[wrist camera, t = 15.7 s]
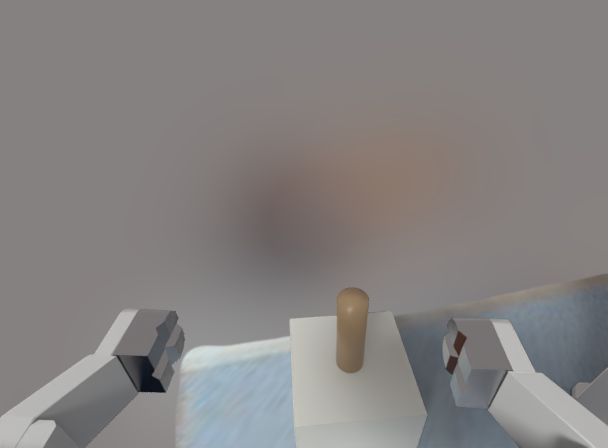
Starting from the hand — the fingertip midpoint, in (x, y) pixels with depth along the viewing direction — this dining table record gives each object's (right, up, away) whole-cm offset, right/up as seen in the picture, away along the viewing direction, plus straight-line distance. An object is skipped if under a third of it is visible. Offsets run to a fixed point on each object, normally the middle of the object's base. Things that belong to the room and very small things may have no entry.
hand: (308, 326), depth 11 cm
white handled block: (+5, -21, +35) cm, 41 cm away
